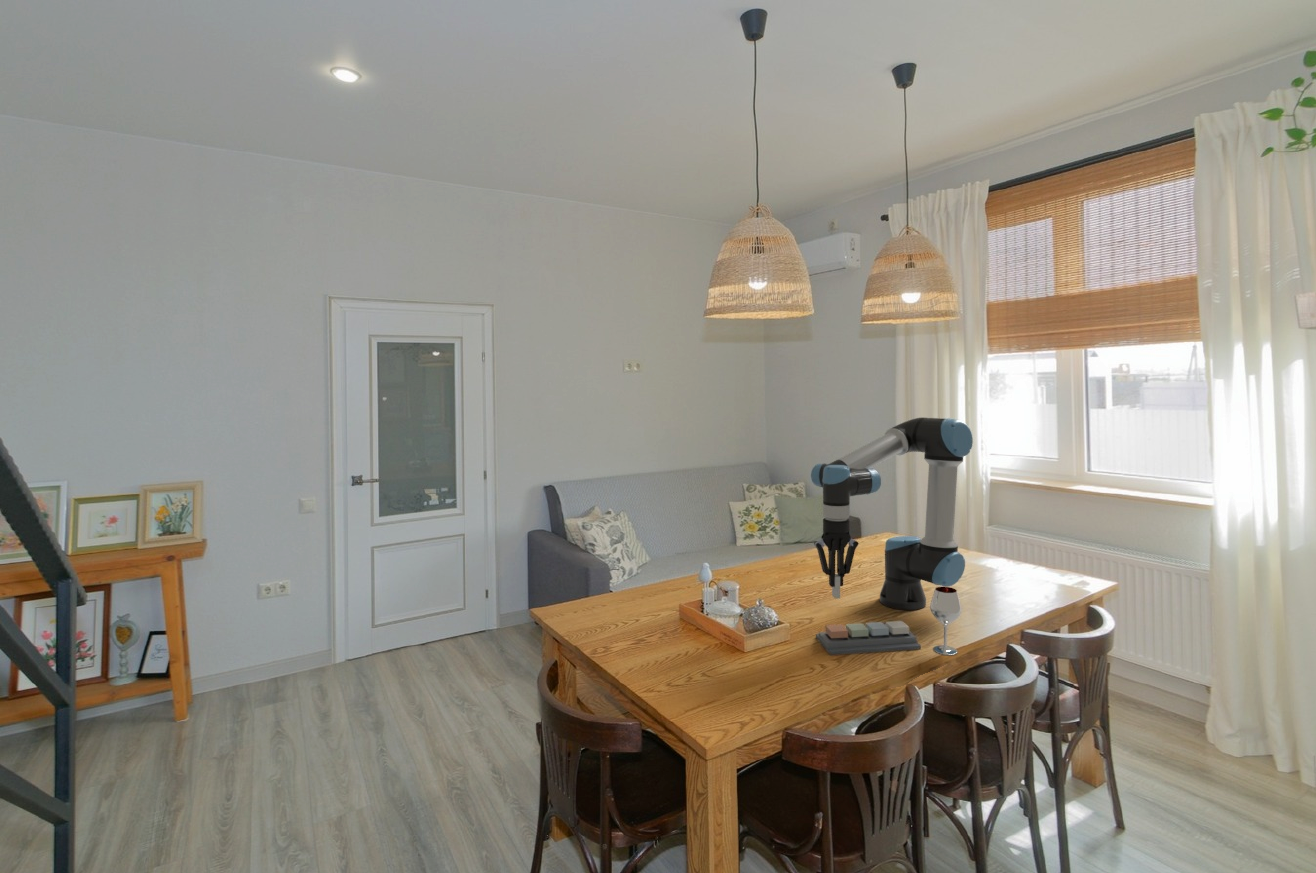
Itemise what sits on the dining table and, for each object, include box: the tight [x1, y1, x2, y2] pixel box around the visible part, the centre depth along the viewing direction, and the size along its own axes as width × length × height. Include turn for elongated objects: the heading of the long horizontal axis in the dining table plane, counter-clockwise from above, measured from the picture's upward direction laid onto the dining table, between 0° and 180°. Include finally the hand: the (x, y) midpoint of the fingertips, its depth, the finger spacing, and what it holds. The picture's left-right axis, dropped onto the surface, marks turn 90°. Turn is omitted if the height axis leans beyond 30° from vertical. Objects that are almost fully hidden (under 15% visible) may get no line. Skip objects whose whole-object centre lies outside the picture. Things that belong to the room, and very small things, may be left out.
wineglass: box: [929, 586, 962, 656], centre depth 193 cm, size 8×8×18 cm
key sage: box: [845, 622, 868, 637], centre depth 200 cm, size 5×5×2 cm
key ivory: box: [885, 620, 910, 634], centre depth 201 cm, size 5×5×2 cm
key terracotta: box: [825, 624, 848, 638], centre depth 199 cm, size 5×5×2 cm
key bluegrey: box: [865, 621, 889, 636], centre depth 200 cm, size 5×5×2 cm
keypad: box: [815, 630, 922, 656], centre depth 200 cm, size 27×13×2 cm, turn 95°
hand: (836, 596), depth 198 cm, fingers closed
